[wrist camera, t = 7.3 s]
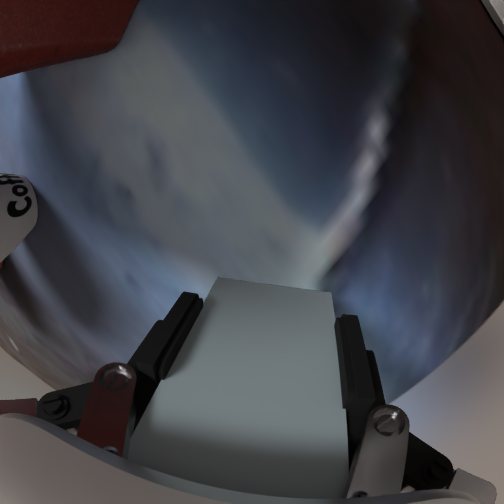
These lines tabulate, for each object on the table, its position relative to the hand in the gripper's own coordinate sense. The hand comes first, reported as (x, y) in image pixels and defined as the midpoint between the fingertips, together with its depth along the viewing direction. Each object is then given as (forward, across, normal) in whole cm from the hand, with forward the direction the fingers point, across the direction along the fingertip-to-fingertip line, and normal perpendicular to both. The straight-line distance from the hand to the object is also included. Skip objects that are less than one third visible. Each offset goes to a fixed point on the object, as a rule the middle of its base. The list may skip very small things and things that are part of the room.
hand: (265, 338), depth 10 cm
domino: (+3, 0, 0) cm, 3 cm away
